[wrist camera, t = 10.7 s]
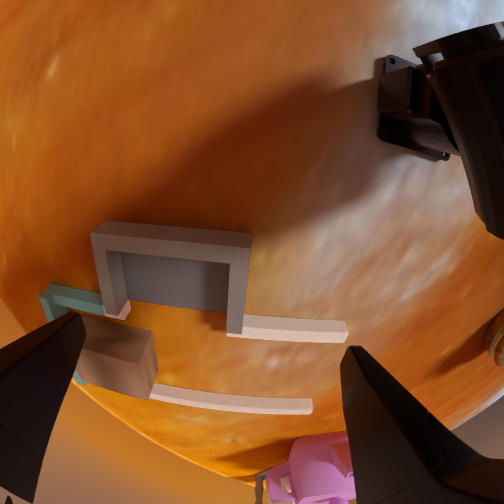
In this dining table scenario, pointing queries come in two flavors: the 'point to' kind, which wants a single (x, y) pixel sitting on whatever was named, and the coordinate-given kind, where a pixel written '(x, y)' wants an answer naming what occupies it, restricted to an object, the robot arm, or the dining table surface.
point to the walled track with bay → (186, 296)
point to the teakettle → (316, 471)
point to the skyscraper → (259, 489)
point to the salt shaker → (496, 340)
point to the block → (118, 358)
